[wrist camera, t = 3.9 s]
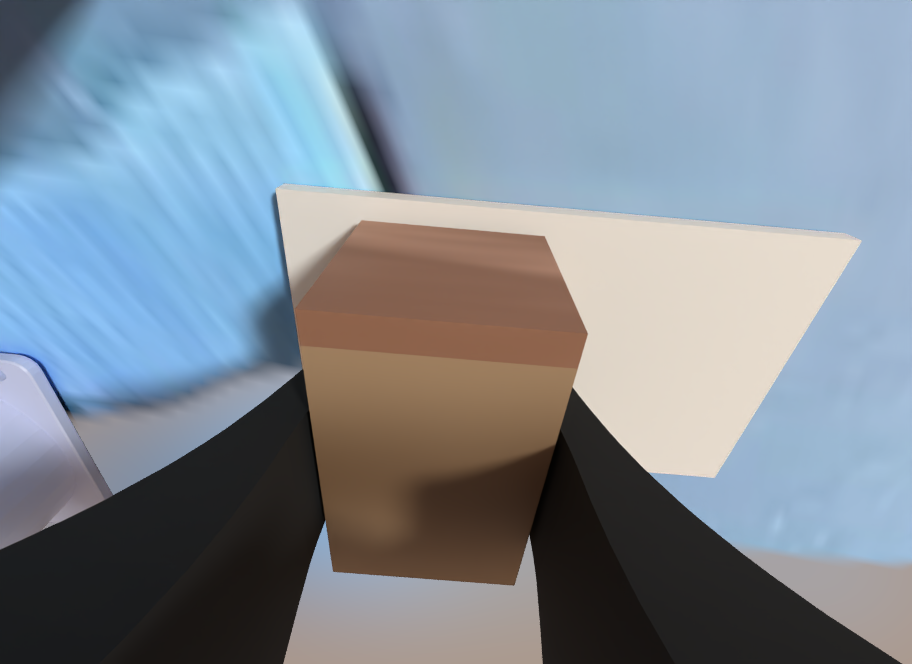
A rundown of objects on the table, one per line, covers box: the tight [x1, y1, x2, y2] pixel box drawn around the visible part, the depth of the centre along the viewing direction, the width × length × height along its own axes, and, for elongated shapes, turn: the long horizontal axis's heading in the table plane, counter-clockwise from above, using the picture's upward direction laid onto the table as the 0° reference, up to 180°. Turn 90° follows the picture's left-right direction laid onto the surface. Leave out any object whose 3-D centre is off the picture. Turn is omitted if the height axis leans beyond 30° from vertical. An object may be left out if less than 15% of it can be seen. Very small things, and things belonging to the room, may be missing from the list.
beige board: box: [276, 183, 862, 478], centre depth 11 cm, size 13×8×1 cm, turn 86°
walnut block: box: [295, 220, 588, 585], centre depth 9 cm, size 7×4×4 cm, turn 176°
